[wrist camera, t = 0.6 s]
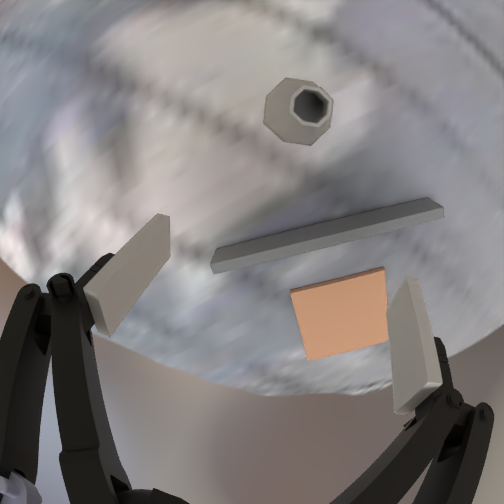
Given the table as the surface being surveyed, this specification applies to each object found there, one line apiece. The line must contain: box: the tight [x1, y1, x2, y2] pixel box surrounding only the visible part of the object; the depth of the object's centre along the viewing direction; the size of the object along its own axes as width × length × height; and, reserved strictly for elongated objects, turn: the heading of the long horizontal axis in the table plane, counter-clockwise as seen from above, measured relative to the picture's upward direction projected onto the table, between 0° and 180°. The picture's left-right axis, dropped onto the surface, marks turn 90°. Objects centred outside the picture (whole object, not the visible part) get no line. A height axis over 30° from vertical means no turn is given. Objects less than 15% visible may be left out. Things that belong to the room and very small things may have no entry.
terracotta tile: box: [290, 267, 388, 360], centre depth 37 cm, size 12×12×1 cm
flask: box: [263, 78, 333, 146], centre depth 23 cm, size 7×7×10 cm
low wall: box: [210, 197, 444, 274], centre depth 31 cm, size 26×1×4 cm, turn 107°
